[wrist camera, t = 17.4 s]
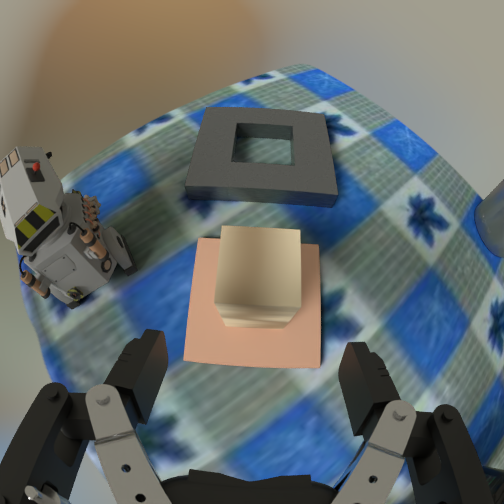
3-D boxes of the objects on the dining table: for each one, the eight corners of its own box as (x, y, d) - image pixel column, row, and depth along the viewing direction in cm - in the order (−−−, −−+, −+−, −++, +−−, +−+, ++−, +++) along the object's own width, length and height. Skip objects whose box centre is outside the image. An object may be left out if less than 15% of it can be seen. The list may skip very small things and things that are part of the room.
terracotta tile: (317, 247, 28) (318, 244, 27) (318, 367, 23) (320, 367, 22) (199, 240, 28) (198, 237, 27) (185, 360, 23) (183, 360, 22)
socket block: (320, 127, 35) (324, 114, 33) (332, 207, 30) (338, 194, 27) (207, 120, 36) (206, 107, 33) (188, 199, 30) (184, 185, 28)
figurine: (113, 203, 30) (56, 109, 16) (145, 284, 26) (61, 198, 12) (56, 240, 28) (-18, 167, 14) (76, 323, 24) (-30, 273, 10)
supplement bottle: (483, 479, 14) (542, 490, 3) (448, 516, 13) (504, 539, 2) (473, 454, 17) (541, 462, 6) (436, 494, 15) (500, 519, 4)
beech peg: (283, 276, 26) (300, 229, 18) (282, 329, 24) (301, 306, 16) (230, 273, 26) (222, 225, 18) (225, 326, 24) (213, 302, 16)
